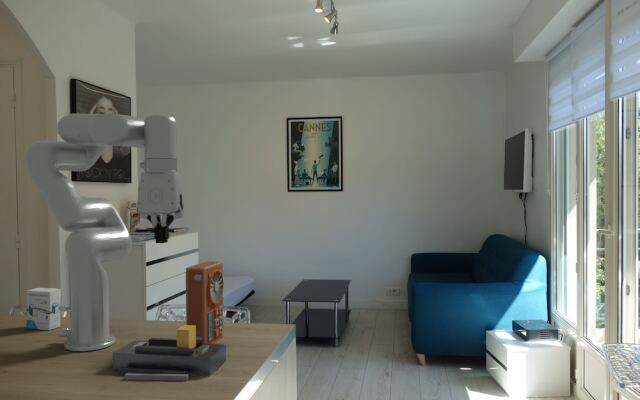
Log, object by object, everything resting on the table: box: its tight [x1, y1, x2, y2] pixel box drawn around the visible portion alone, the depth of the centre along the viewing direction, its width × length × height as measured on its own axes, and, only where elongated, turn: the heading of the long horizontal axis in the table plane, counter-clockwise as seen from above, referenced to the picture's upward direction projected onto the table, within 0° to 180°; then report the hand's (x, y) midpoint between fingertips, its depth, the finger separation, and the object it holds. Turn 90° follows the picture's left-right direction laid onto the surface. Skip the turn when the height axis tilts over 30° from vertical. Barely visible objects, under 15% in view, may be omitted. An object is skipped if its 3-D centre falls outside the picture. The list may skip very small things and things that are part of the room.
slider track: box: [112, 337, 227, 376], centre depth 121 cm, size 24×10×5 cm, turn 81°
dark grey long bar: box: [117, 367, 187, 376], centre depth 114 cm, size 16×1×1 cm, turn 81°
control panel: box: [184, 260, 225, 344], centre depth 139 cm, size 21×7×15 cm
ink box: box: [25, 287, 62, 331], centre depth 155 cm, size 9×5×12 cm, turn 77°
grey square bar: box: [124, 373, 189, 382], centre depth 112 cm, size 14×1×1 cm, turn 87°
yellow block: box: [176, 324, 196, 348], centre depth 120 cm, size 3×4×5 cm
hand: (161, 242), depth 123 cm, fingers closed
